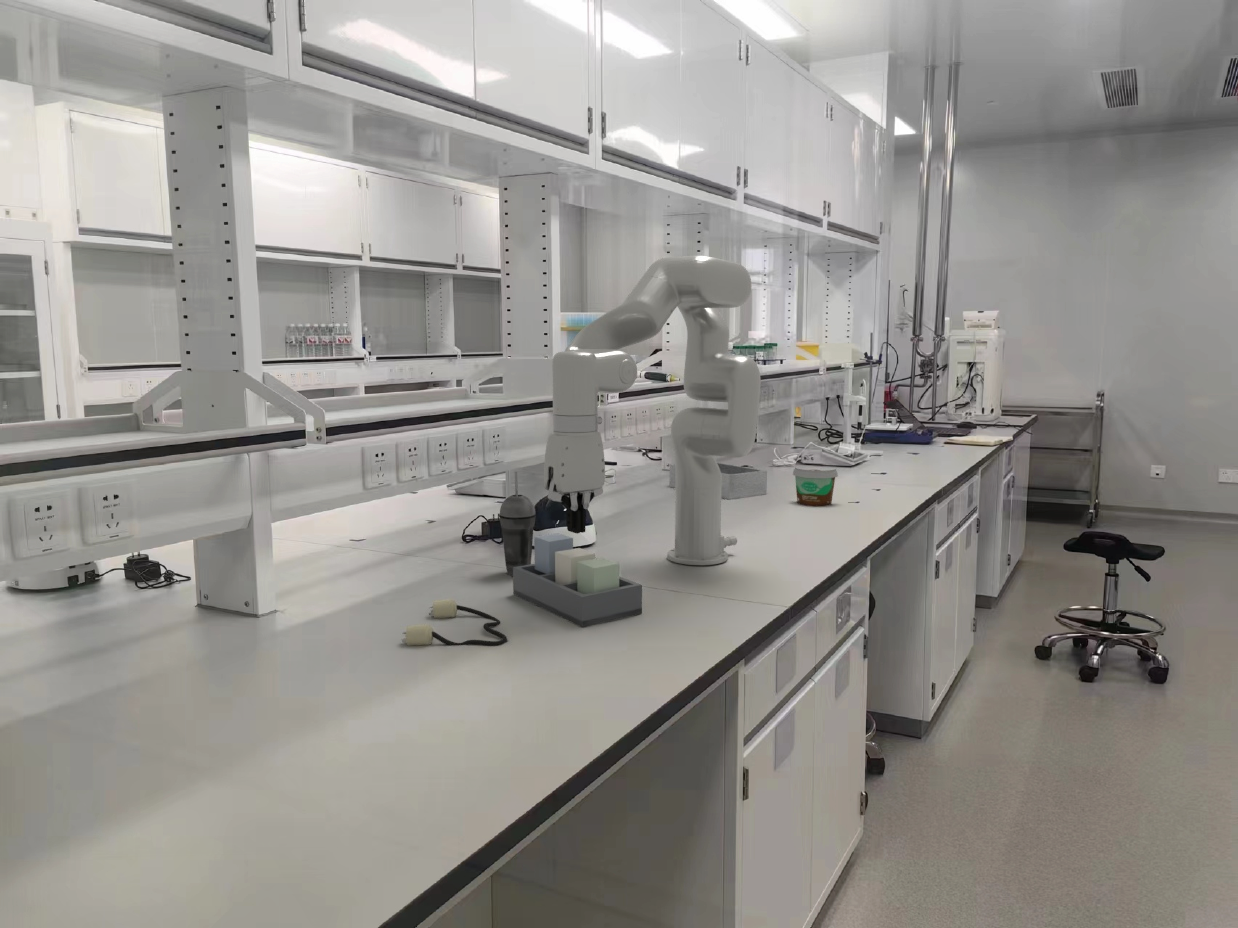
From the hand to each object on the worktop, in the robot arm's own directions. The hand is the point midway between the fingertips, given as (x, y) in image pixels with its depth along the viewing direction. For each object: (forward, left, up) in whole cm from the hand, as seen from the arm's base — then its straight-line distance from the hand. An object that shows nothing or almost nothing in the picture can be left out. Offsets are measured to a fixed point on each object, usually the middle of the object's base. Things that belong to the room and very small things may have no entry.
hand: (576, 531), depth 151 cm
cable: (+22, 0, -14) cm, 26 cm away
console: (0, 0, -13) cm, 13 cm away
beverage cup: (-2, -24, -13) cm, 27 cm away
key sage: (0, +7, -10) cm, 12 cm away
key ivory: (0, 0, -10) cm, 10 cm away
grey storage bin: (-98, -72, -13) cm, 122 cm away
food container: (-104, -39, -13) cm, 112 cm away
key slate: (0, -7, -8) cm, 11 cm away
